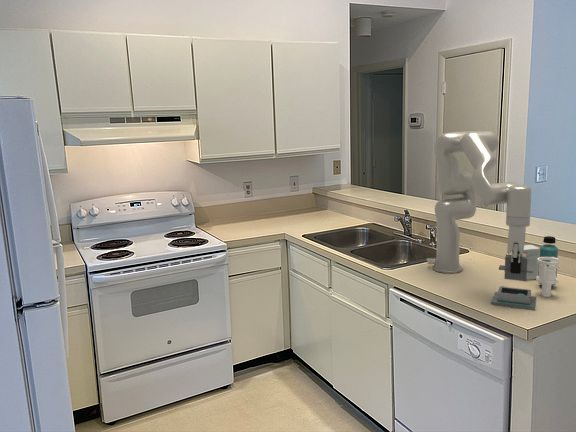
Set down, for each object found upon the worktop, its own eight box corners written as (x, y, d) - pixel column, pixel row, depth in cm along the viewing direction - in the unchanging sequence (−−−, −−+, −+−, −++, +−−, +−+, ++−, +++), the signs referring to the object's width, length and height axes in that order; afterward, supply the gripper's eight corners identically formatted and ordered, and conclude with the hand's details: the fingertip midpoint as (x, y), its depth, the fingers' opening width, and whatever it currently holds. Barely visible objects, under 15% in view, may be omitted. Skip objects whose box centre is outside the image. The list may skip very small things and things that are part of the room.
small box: (530, 274, 205) (531, 244, 202) (539, 279, 199) (541, 248, 196) (511, 275, 204) (513, 245, 202) (520, 280, 198) (521, 249, 195)
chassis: (491, 304, 175) (491, 292, 174) (494, 294, 185) (495, 282, 184) (534, 310, 169) (535, 297, 168) (536, 299, 178) (537, 287, 177)
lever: (498, 278, 176) (499, 254, 174) (499, 275, 179) (500, 251, 177) (532, 281, 170) (533, 256, 169) (533, 278, 174) (534, 253, 172)
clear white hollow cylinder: (550, 300, 176) (553, 260, 174) (531, 295, 182) (533, 256, 179) (560, 295, 181) (563, 256, 178) (541, 290, 186) (543, 252, 183)
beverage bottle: (558, 286, 190) (561, 236, 186) (553, 291, 185) (557, 239, 181) (540, 282, 194) (542, 233, 190) (535, 287, 190) (537, 237, 186)
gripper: (508, 215, 180) (506, 263, 183) (503, 225, 165) (501, 277, 169) (531, 216, 176) (528, 265, 180) (528, 226, 162) (526, 279, 165)
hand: (515, 270), depth 174 cm, fingers closed on lever, 4 cm apart
